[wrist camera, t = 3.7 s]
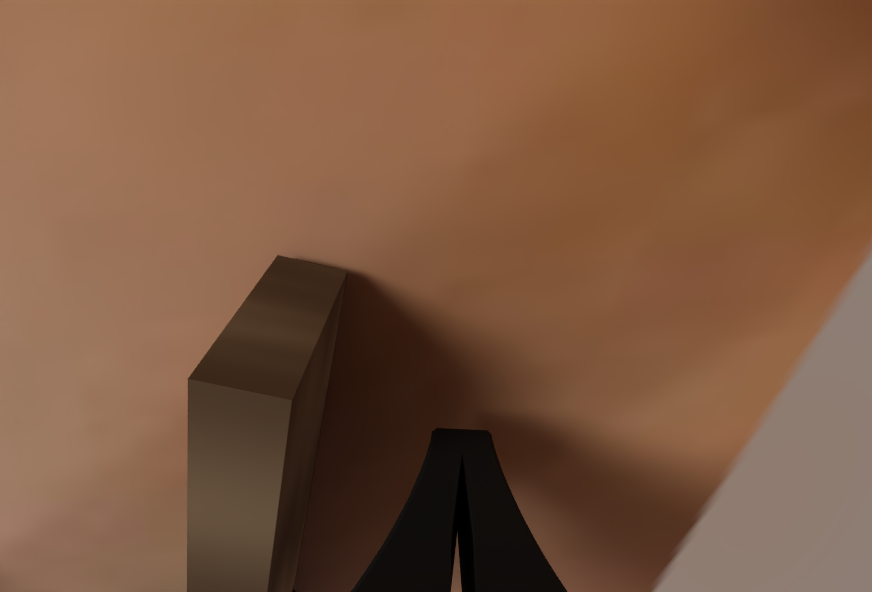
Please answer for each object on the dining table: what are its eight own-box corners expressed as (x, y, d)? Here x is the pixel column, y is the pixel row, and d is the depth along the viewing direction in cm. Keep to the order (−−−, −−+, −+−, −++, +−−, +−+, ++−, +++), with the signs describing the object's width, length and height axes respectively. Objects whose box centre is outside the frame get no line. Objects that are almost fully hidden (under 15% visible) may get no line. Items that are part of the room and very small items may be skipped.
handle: (293, 592, 18) (244, 758, 14) (246, 584, 18) (184, 750, 14) (347, 271, 12) (290, 404, 8) (278, 255, 12) (185, 382, 8)
